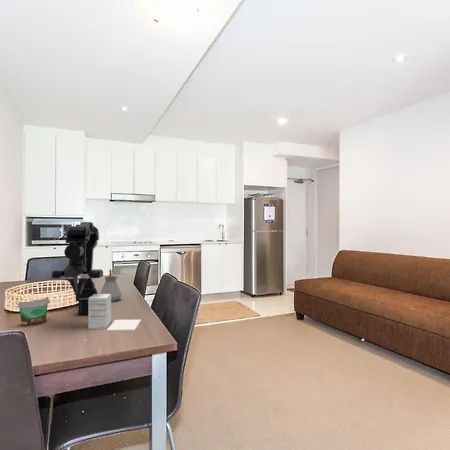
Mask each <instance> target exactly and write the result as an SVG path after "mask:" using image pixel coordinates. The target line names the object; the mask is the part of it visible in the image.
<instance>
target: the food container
mask: <svg viewBox="0 0 450 450" xmlns="http://www.w3.org/2000/svg"><path fill="white" fill-rule="evenodd" d="M49 304H50V298H49V297H48V296H46V298H42V299H33V300H31V301H18V305H17V308H19V316H20V317H19V318H20V326H22V327H31V326H30V325H35V326H39V325H38V324H40V325H43V324H45V323H46V322H47V313H48V305H49ZM44 322H45V323H44ZM42 323H43V324H42Z"/></svg>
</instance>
